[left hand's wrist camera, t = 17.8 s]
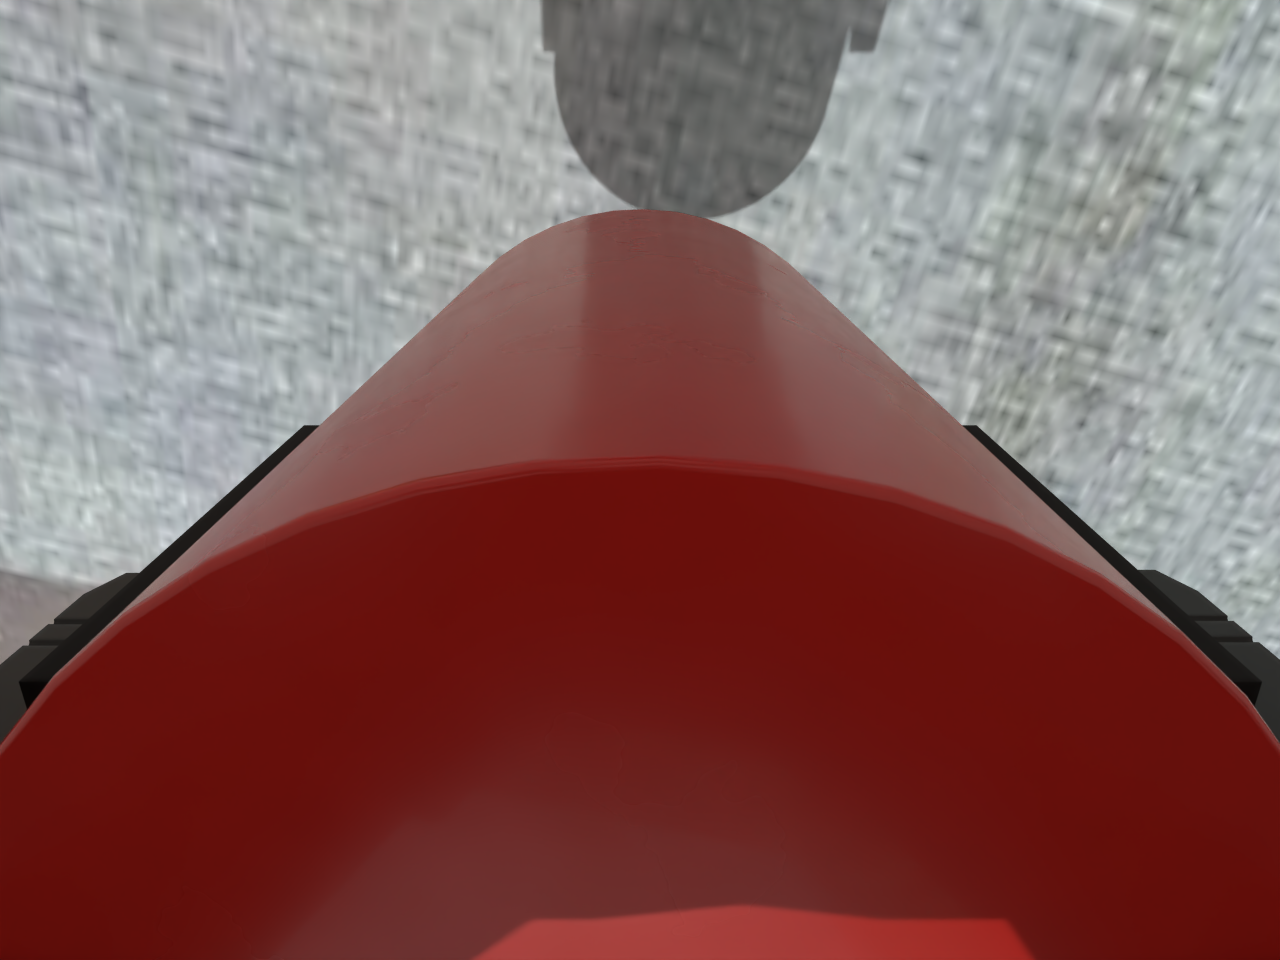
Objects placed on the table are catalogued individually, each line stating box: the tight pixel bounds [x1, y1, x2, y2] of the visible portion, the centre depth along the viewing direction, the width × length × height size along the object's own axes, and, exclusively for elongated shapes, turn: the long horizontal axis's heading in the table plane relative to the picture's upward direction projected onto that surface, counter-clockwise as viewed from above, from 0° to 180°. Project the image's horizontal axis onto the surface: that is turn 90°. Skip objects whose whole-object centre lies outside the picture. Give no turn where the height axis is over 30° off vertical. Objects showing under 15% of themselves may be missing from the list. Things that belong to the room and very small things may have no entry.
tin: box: [0, 209, 1280, 960], centre depth 11 cm, size 8×8×12 cm
